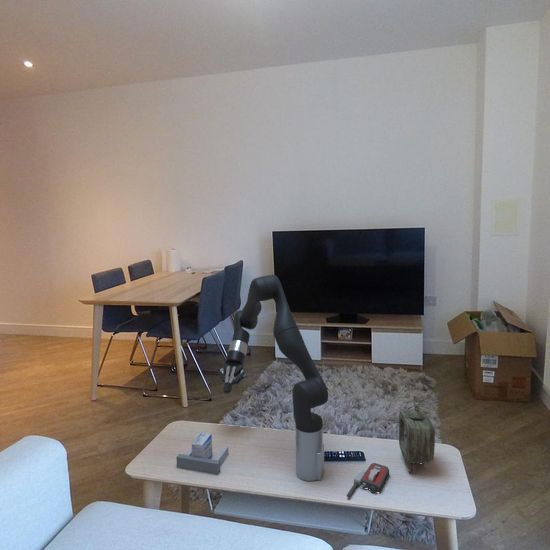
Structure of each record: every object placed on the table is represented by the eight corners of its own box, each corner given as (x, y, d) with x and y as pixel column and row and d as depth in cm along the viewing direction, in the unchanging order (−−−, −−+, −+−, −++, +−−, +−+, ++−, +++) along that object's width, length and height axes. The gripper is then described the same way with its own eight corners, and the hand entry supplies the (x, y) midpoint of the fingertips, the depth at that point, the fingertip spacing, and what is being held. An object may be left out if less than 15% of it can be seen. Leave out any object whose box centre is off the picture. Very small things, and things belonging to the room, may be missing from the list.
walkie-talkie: (366, 466, 145) (344, 499, 129) (366, 454, 145) (344, 486, 128) (391, 474, 141) (371, 509, 124) (391, 462, 140) (371, 496, 123)
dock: (232, 454, 153) (231, 444, 153) (218, 474, 141) (217, 464, 141) (193, 448, 158) (193, 438, 157) (176, 467, 146) (176, 456, 145)
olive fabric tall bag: (398, 452, 153) (399, 388, 149) (423, 453, 152) (425, 389, 149) (406, 476, 139) (408, 406, 135) (434, 477, 138) (437, 407, 134)
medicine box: (203, 468, 145) (202, 445, 144) (192, 466, 147) (191, 443, 145) (212, 455, 153) (212, 433, 152) (201, 453, 154) (200, 432, 153)
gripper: (219, 348, 171) (207, 387, 161) (249, 350, 167) (239, 391, 157) (225, 356, 177) (214, 395, 167) (254, 358, 173) (244, 398, 163)
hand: (226, 393), depth 162 cm, fingers closed
